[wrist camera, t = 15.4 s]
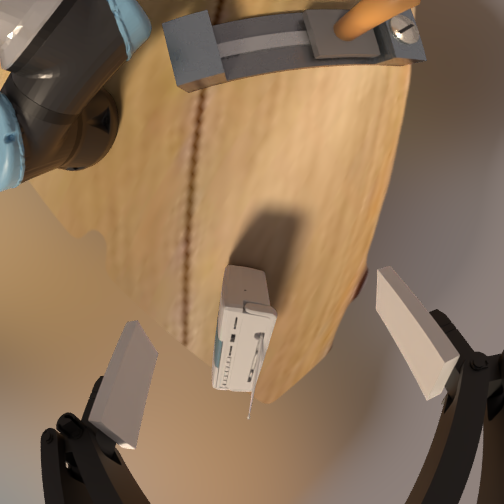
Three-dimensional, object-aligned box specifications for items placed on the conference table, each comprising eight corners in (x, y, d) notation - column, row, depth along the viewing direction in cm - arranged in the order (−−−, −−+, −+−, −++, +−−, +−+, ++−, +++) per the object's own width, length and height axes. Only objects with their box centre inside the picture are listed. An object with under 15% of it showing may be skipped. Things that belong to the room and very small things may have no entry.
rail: (188, 92, 35) (175, 85, 27) (175, 39, 30) (160, 21, 23) (400, 66, 33) (429, 60, 25) (386, 17, 28) (411, 4, 20)
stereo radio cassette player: (224, 259, 48) (218, 341, 30) (270, 265, 49) (286, 347, 31) (213, 342, 57) (208, 420, 40) (250, 346, 58) (255, 424, 40)
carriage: (315, 59, 31) (373, 18, 14) (301, 15, 28) (345, -47, 10) (373, 57, 31) (453, 33, 13) (360, 15, 27) (428, -28, 10)
